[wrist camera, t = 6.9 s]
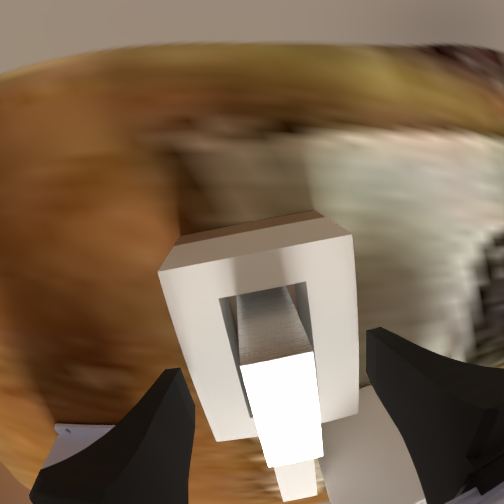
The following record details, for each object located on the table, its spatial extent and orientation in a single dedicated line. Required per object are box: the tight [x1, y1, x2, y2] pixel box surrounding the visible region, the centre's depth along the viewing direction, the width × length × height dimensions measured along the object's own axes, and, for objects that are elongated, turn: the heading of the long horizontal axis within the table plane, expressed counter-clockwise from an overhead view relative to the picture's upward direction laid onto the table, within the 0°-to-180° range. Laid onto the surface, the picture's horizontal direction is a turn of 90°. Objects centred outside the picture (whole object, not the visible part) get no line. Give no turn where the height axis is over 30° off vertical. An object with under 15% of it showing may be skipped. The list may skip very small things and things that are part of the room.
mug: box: [318, 385, 427, 504], centre depth 16 cm, size 12×8×10 cm
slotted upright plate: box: [158, 210, 359, 502], centre depth 16 cm, size 7×18×6 cm, turn 10°
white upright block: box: [236, 286, 323, 467], centre depth 12 cm, size 2×5×7 cm, turn 11°
